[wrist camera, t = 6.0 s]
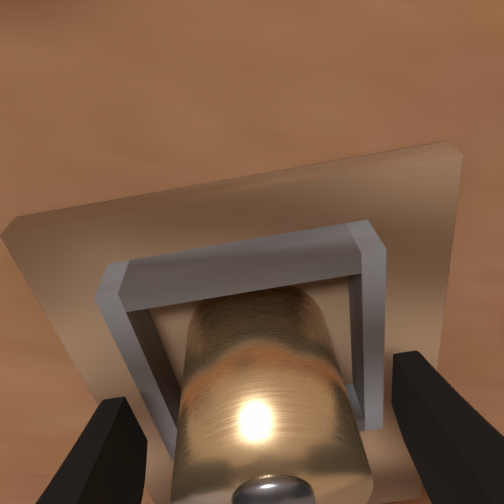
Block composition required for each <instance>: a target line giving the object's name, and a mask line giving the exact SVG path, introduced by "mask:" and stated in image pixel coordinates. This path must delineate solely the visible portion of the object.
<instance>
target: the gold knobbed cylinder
mask: <svg viewBox="0 0 504 504" xmlns="http://www.w3.org/2000/svg"><path fill="white" fill-rule="evenodd" d="M373 485H374V482H373V475H372V472H371V469H370V465H369V462H368V459H367V456H366V452H365V449H364V446H363V443H362V439H361V436H360V433H359V430H358V426H357V423H356V420H355V417H354V413H353V410H352V407H351V404H350V400H349V397H348V394H347V391H346V387H345V384H344V381H343V377H342V374H341V371H340V368H339V364H338V361H337V358H336V355H335V351H334V348H333V345H332V342H331V338H330V335H329V332H328V329H327V325H326V322H325V319H324V316H323V313H322V311H321V309H320V307H319V305H318V304H317V303H316V302H315V300H314V299H313V298H312V297H310V296H309V295H308V294H307V293H305V292H304V291H302V290H301V289H299V288H297V287H295V286H293V285H287V286H281V287H275V288H269V289H263V290H257V291H251V292H245V293H239V294H233V295H227V296H221V297H215V298H209V299H204V300H203V301H202V302H201V303H200V304H199V305H198V307H197V308H196V310H195V311H194V312H193V314H192V316H191V318H190V322H189V325H188V332H187V341H186V351H185V361H184V370H183V380H182V389H181V399H180V409H179V418H178V428H177V437H176V447H175V457H174V466H173V476H172V485H171V495H170V501H171V504H366V503H367V501H368V500H369V498H370V496H371V494H372V491H373Z"/></svg>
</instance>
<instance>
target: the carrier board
mask: <svg viewBox="0 0 504 504" xmlns="http://www.w3.org/2000/svg"><path fill="white" fill-rule="evenodd" d="M462 161H463V154H462V153H461V152H459V151H458V150H456V149H455V148H454V147H452V146H451V145H449V144H448V143H446V142H441V143H435V144H429V145H424V146H418V147H412V148H407V149H401V150H395V151H390V152H384V153H378V154H372V155H367V156H361V157H355V158H350V159H344V160H338V161H333V162H327V163H321V164H316V165H310V166H304V167H299V168H293V169H287V170H282V171H276V172H270V173H265V174H259V175H253V176H248V177H242V178H236V179H231V180H225V181H219V182H213V183H208V184H202V185H196V186H191V187H185V188H179V189H174V190H168V191H162V192H157V193H151V194H145V195H140V196H134V197H128V198H123V199H117V200H111V201H106V202H100V203H94V204H89V205H83V206H77V207H71V208H66V209H60V210H54V211H49V212H43V213H37V214H32V215H26V216H20V217H16V218H15V219H14V220H13V221H12V222H11V223H10V225H9V226H8V227H7V228H6V229H5V230H4V231H3V232H2V233H1V234H0V236H1V238H2V240H3V242H4V243H5V245H6V247H7V248H8V250H9V252H10V254H11V255H12V257H13V259H14V261H15V262H16V264H17V266H18V267H19V269H20V271H21V273H22V274H23V276H24V278H25V280H26V281H27V283H28V285H29V286H30V288H31V290H32V292H33V293H34V295H35V297H36V299H37V300H38V302H39V304H40V305H41V307H42V309H43V311H44V312H45V314H46V316H47V318H48V319H49V321H50V323H51V324H52V326H53V328H54V330H55V331H56V333H57V335H58V337H59V338H60V340H61V342H62V343H63V345H64V347H65V349H66V350H67V352H68V354H69V356H70V357H71V359H72V361H73V362H74V364H75V366H76V368H77V369H78V371H79V373H80V374H81V376H82V378H83V380H84V381H85V383H86V385H87V387H88V388H89V390H90V392H91V393H92V395H93V397H94V399H95V400H96V402H97V404H98V406H99V404H100V403H101V402H102V400H104V399H110V398H116V397H123V396H125V397H126V399H127V401H128V403H129V405H130V407H131V409H132V411H133V413H134V415H135V417H136V419H137V421H138V423H139V425H140V426H141V428H142V430H143V432H144V434H145V436H146V438H147V440H148V445H147V462H146V474H145V484H144V485H145V487H146V488H147V490H148V492H149V494H150V495H151V497H152V499H153V501H154V502H155V504H171V501H170V495H171V485H172V476H173V466H174V457H175V447H176V437H177V428H178V418H179V409H180V399H181V389H182V380H183V370H184V361H185V351H186V341H187V332H188V325H189V322H190V318H191V316H192V314H193V312H194V311H195V310H196V308H197V307H198V305H199V304H200V303H201V302H202V301H203V300H204V299H209V298H215V297H221V296H227V295H233V294H239V293H245V292H251V291H257V290H263V289H269V288H275V287H281V286H287V285H293V286H295V287H297V288H299V289H301V290H302V291H304V292H305V293H307V294H308V295H309V296H310V297H312V298H313V299H314V300H315V302H316V303H317V304H318V305H319V307H320V309H321V311H322V313H323V316H324V319H325V322H326V325H327V329H328V332H329V335H330V338H331V342H332V345H333V348H334V351H335V355H336V358H337V361H338V364H339V368H340V371H341V374H342V377H343V381H344V384H345V387H346V391H347V394H348V397H349V400H350V404H351V407H352V410H353V413H354V417H355V420H356V423H357V426H358V430H359V433H360V436H361V439H362V443H363V446H364V449H365V452H366V456H367V459H368V462H369V465H370V469H371V472H372V475H373V482H374V485H373V491H372V494H371V496H370V498H369V500H368V501H367V503H366V504H382V503H389V502H396V501H403V500H410V499H417V498H421V495H422V487H423V483H422V481H421V479H420V476H419V474H418V472H417V470H416V468H415V465H414V463H413V461H412V459H411V456H410V454H409V452H408V450H407V447H406V445H405V443H404V440H403V437H402V434H401V431H400V429H399V426H398V423H397V420H396V416H395V413H394V410H393V407H392V404H391V397H392V369H393V354H396V353H402V352H409V351H415V350H417V351H418V352H420V353H421V354H422V355H423V356H424V358H425V359H426V360H427V361H428V362H429V363H430V364H431V365H432V366H433V367H434V368H435V370H436V371H437V365H438V356H439V348H440V340H441V332H442V324H443V316H444V308H445V300H446V291H447V283H448V275H449V267H450V259H451V251H452V243H453V234H454V226H455V218H456V210H457V202H458V194H459V186H460V177H461V169H462Z"/></svg>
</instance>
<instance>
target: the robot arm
mask: <svg viewBox="0 0 504 504" xmlns="http://www.w3.org/2000/svg"><path fill="white" fill-rule="evenodd" d="M391 404H392V407H393V410H394V413H395V416H396V420H397V423H398V426H399V429H400V431H401V434H402V437H403V440H404V443H405V445H406V447H407V450H408V452H409V454H410V456H411V459H412V461H413V463H414V465H415V468H416V470H417V472H418V474H419V476H420V479H421V481H422V483H423V485H424V487H425V490H426V492H427V494H428V496H429V498H430V501H431V503H432V504H504V436H503V435H502V434H500V433H499V432H498V431H497V430H496V429H495V428H494V427H493V426H492V425H491V424H490V423H488V422H487V421H486V420H485V419H484V418H483V417H482V416H481V415H480V414H479V413H478V412H477V411H476V410H475V409H474V408H473V407H472V406H471V405H470V404H469V403H468V402H467V401H466V400H465V399H464V398H462V397H461V396H460V395H459V394H458V392H457V391H456V390H455V389H454V388H453V387H452V386H451V385H450V384H449V383H448V382H447V381H446V380H445V379H444V378H443V377H442V376H441V375H440V374H439V373H438V372H437V371H436V370H435V368H434V367H433V366H432V365H431V364H430V363H429V362H428V361H427V360H426V359H425V358H424V356H423V355H422V354H421V353H420V352H418V351H417V350H415V351H409V352H402V353H396V354H393V369H392V397H391ZM147 445H148V440H147V438H146V436H145V434H144V432H143V430H142V428H141V426H140V425H139V423H138V421H137V419H136V417H135V415H134V413H133V411H132V409H131V407H130V405H129V403H128V401H127V399H126V397H125V396H123V397H116V398H110V399H104V400H102V402H101V403H100V404H99V406H98V408H97V409H96V411H95V412H94V414H93V416H92V417H91V419H90V421H89V422H88V424H87V425H86V427H85V429H84V430H83V432H82V433H81V435H80V437H79V438H78V440H77V442H76V443H75V445H74V446H73V448H72V449H71V451H70V453H69V454H68V456H67V457H66V459H65V460H64V462H63V463H62V465H61V467H60V468H59V470H58V471H57V473H56V474H55V476H54V477H53V479H52V480H51V482H50V483H49V485H48V486H47V488H46V489H45V491H44V492H43V494H42V495H41V496H40V498H39V499H38V501H37V502H36V504H141V501H142V495H143V489H144V484H145V474H146V462H147Z"/></svg>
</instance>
